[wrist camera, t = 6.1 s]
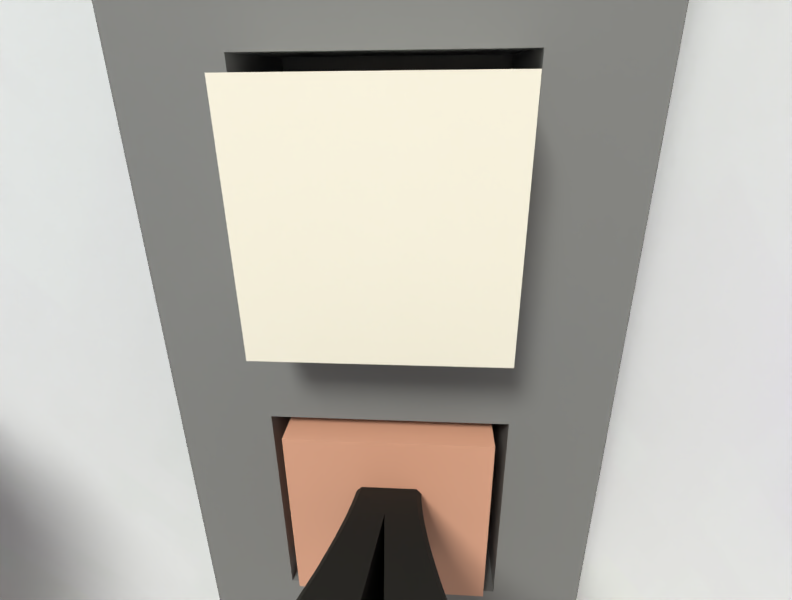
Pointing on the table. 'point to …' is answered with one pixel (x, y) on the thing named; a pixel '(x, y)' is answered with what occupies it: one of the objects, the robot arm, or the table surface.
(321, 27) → the key panel
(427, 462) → the terracotta key
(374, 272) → the ivory key
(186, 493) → the table surface
